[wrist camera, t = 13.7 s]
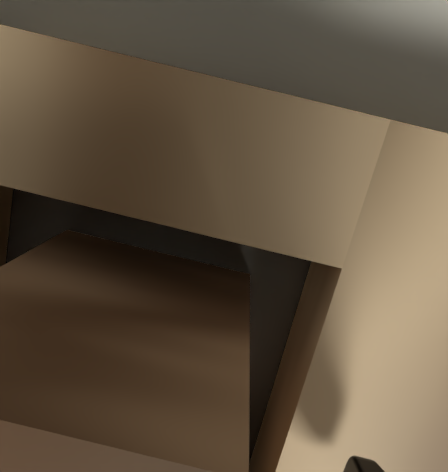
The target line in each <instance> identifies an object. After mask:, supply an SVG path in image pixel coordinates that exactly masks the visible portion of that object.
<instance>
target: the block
mask: <svg viewBox="0 0 448 472" xmlns="http://www.w3.org/2000/svg"><path fill="white" fill-rule="evenodd" d="M249 390H250V274H248V273H244V272H240V271H235V270H231V269H227V268H223V267H219V266H215V265H211V264H207V263H202V262H198V261H194V260H190V259H186V258H182V257H178V256H174V255H169V254H165V253H161V252H157V251H153V250H149V249H145V248H141V247H137V246H132V245H128V244H124V243H120V242H116V241H112V240H108V239H104V238H99V237H95V236H91V235H87V234H83V233H79V232H75V231H71V230H66V231H64V232H62V233H60V234H58V235H57V236H55V237H53V238H51V239H49V240H48V241H46V242H44V243H42V244H40V245H39V246H37V247H35V248H33V249H31V250H30V251H28V252H26V253H24V254H22V255H21V256H19V257H17V258H15V259H13V260H12V261H10V262H8V263H6V264H4V265H3V266H1V267H0V472H249Z"/></svg>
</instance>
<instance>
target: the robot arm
mask: <svg viewBox="0 0 448 472" xmlns="http://www.w3.org/2000/svg"><path fill="white" fill-rule="evenodd" d="M343 472H385V471H384V470H383V469H382V468H381V467H380V466H379V465H378V464H377V463H376V462H375V461H374V460H371V459H367V458H363V457H359V456H351V457H350V458H349V459H348V461H347V463H346V465H345V468H344V471H343Z"/></svg>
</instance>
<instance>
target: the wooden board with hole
mask: <svg viewBox="0 0 448 472" xmlns="http://www.w3.org/2000/svg"><path fill="white" fill-rule="evenodd" d="M13 188H14V189H18V190H22V191H26V192H30V193H34V194H38V195H42V196H47V197H51V198H55V199H59V200H63V201H67V202H71V203H75V204H79V205H83V206H88V207H92V208H96V209H100V210H104V211H108V212H112V213H116V214H120V215H124V216H128V217H133V218H137V219H141V220H145V221H149V222H153V223H157V224H161V225H165V226H169V227H174V228H178V229H182V230H186V231H190V232H194V233H198V234H202V235H206V236H210V237H214V238H219V239H223V240H227V241H231V242H235V243H239V244H243V245H247V246H251V247H255V248H260V249H264V250H268V251H272V252H276V253H280V254H284V255H288V256H292V257H296V258H300V259H305V260H309V261H311V264H310V267H309V271H308V274H307V277H306V280H305V284H304V287H303V290H302V294H301V297H300V300H299V303H298V307H297V310H296V313H295V316H294V320H293V323H292V326H291V330H290V333H289V336H288V339H287V343H286V346H285V349H284V352H283V356H282V359H281V362H280V366H279V369H278V372H277V375H276V379H275V382H274V385H273V388H272V392H271V395H270V398H269V402H268V405H267V408H266V411H265V415H264V418H263V421H262V424H261V428H260V431H259V434H258V438H257V441H256V444H255V447H254V451H253V454H252V457H251V460H250V464H249V472H343V471H344V468H345V465H346V463H347V461H348V459H349V458H350V457H351V456H359V457H363V458H367V459H371V460H374V461H375V462H376V463H377V464H378V465H379V466H380V467H381V468H382V469H383V470H384V471H385V472H448V133H444V132H440V131H436V130H432V129H428V128H424V127H420V126H415V125H411V124H407V123H403V122H399V121H395V120H391V119H387V118H383V117H378V116H374V115H370V114H366V113H362V112H358V111H354V110H350V109H346V108H342V107H337V106H333V105H329V104H325V103H321V102H317V101H313V100H309V99H305V98H301V97H296V96H292V95H288V94H284V93H280V92H276V91H272V90H268V89H264V88H260V87H255V86H251V85H247V84H243V83H239V82H235V81H231V80H227V79H223V78H219V77H214V76H210V75H206V74H202V73H198V72H194V71H190V70H186V69H182V68H178V67H173V66H169V65H165V64H161V63H157V62H153V61H149V60H145V59H141V58H137V57H132V56H128V55H124V54H120V53H116V52H112V51H108V50H104V49H100V48H95V47H91V46H87V45H83V44H79V43H75V42H71V41H67V40H63V39H59V38H54V37H50V36H46V35H42V34H38V33H34V32H30V31H26V30H22V29H18V28H13V27H9V26H5V25H1V24H0V267H1V266H3V265H4V264H6V254H7V245H8V235H9V226H10V216H11V206H12V197H13Z"/></svg>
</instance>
